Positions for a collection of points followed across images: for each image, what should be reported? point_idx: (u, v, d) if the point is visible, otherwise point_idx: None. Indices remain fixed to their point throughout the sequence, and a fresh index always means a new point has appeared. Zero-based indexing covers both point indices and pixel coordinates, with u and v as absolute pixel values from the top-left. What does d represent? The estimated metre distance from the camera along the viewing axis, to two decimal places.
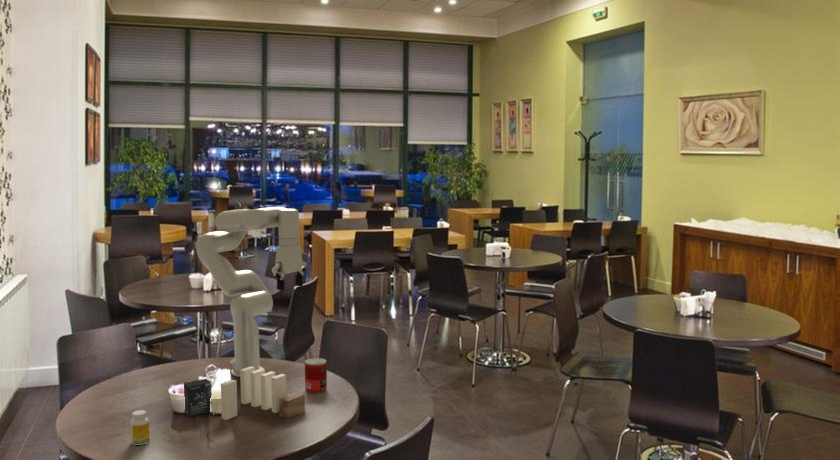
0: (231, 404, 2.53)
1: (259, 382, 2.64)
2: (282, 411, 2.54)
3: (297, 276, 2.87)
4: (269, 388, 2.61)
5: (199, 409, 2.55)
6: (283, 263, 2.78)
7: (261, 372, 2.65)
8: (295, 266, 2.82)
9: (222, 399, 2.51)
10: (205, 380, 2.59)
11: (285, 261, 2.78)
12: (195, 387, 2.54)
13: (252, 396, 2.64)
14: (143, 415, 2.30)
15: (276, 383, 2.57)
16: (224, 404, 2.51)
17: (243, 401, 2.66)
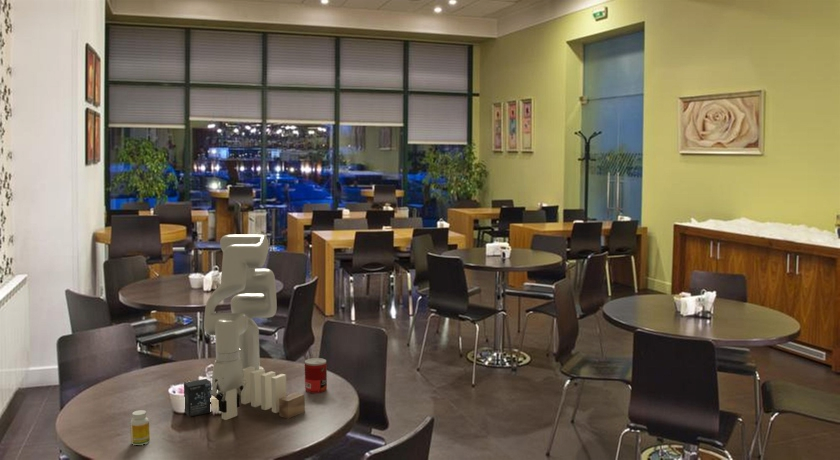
0: (231, 404, 2.53)
1: (259, 382, 2.64)
2: (282, 411, 2.54)
3: None
4: (269, 388, 2.61)
5: (199, 409, 2.55)
6: (220, 381, 2.47)
7: (261, 372, 2.65)
8: (235, 382, 2.52)
9: None
10: (205, 380, 2.59)
11: (222, 379, 2.47)
12: (196, 387, 2.54)
13: (252, 396, 2.64)
14: (143, 415, 2.30)
15: (276, 383, 2.57)
16: None
17: (243, 401, 2.66)
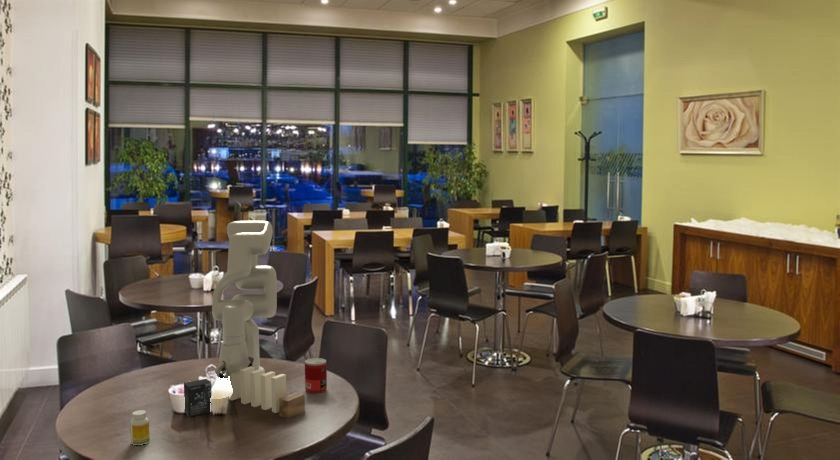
0: (237, 386, 2.71)
1: (259, 382, 2.64)
2: (282, 411, 2.54)
3: None
4: (269, 388, 2.61)
5: (199, 409, 2.55)
6: (227, 363, 2.66)
7: (261, 372, 2.65)
8: (240, 364, 2.70)
9: None
10: (205, 380, 2.59)
11: (229, 361, 2.66)
12: (195, 387, 2.54)
13: (252, 396, 2.64)
14: (143, 415, 2.30)
15: (276, 383, 2.57)
16: None
17: (243, 401, 2.66)
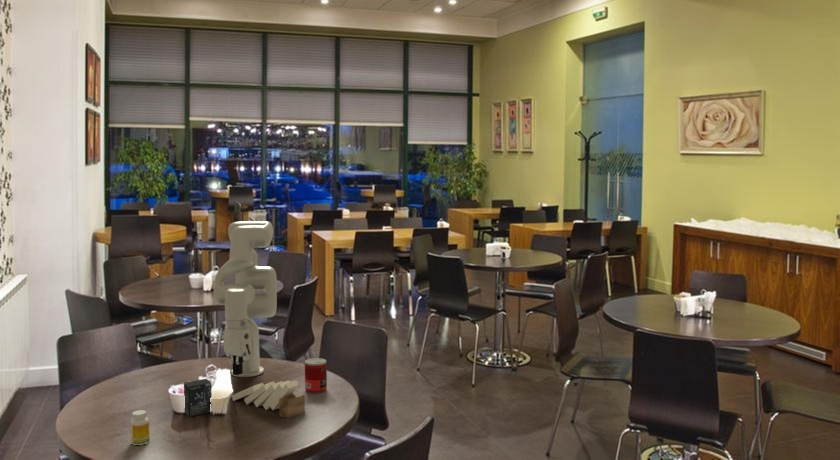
0: (246, 395, 2.69)
1: None
2: (282, 411, 2.54)
3: None
4: None
5: (199, 410, 2.55)
6: None
7: None
8: (233, 349, 2.67)
9: (243, 392, 2.66)
10: (205, 380, 2.59)
11: (224, 340, 2.70)
12: (196, 387, 2.54)
13: (259, 399, 2.62)
14: (143, 415, 2.30)
15: (287, 391, 2.54)
16: (241, 395, 2.67)
17: (246, 401, 2.65)
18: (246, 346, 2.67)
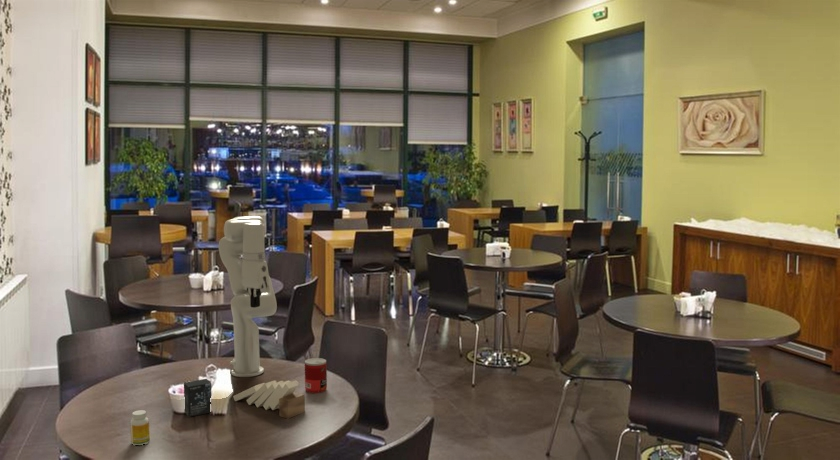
0: (248, 395, 2.69)
1: None
2: (282, 411, 2.54)
3: None
4: None
5: (199, 409, 2.55)
6: None
7: None
8: (251, 282, 2.74)
9: (245, 392, 2.65)
10: (205, 380, 2.59)
11: (242, 274, 2.77)
12: (195, 387, 2.54)
13: (260, 399, 2.61)
14: (143, 415, 2.30)
15: (287, 391, 2.54)
16: (243, 396, 2.66)
17: (249, 402, 2.65)
18: (263, 279, 2.74)
